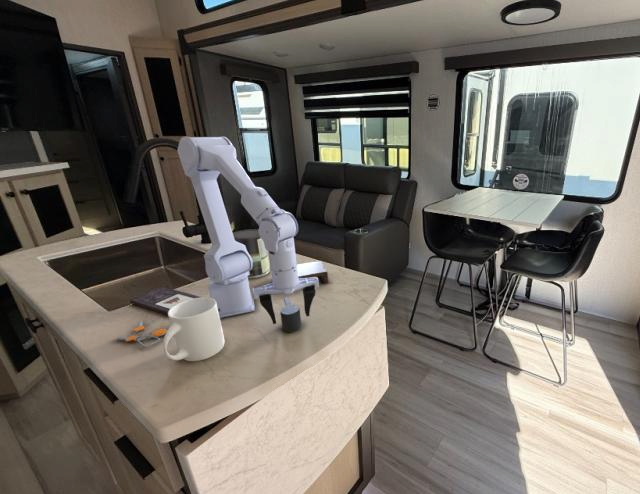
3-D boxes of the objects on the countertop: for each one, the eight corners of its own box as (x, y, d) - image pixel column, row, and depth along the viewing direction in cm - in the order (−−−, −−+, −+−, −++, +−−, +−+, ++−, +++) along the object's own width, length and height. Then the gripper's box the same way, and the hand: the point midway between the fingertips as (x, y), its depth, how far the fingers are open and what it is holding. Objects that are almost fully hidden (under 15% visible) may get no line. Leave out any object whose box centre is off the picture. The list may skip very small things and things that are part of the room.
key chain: (176, 333, 75) (175, 330, 75) (141, 351, 69) (140, 348, 69) (144, 321, 80) (143, 318, 80) (109, 336, 74) (108, 333, 74)
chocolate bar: (163, 286, 96) (203, 297, 90) (163, 289, 97) (204, 300, 90) (129, 299, 89) (171, 313, 82) (130, 302, 89) (172, 316, 82)
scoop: (302, 329, 77) (300, 311, 75) (283, 334, 75) (281, 316, 74) (296, 311, 85) (294, 294, 83) (279, 315, 83) (277, 298, 82)
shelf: (275, 292, 95) (273, 280, 94) (272, 280, 104) (270, 268, 102) (328, 282, 102) (327, 271, 100) (321, 271, 110) (320, 260, 109)
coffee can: (249, 281, 102) (241, 240, 98) (231, 274, 108) (223, 234, 103) (276, 271, 110) (271, 232, 105) (259, 264, 116) (253, 227, 111)
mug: (154, 369, 64) (139, 323, 60) (204, 335, 75) (194, 295, 71) (188, 377, 62) (174, 331, 58) (234, 341, 73) (225, 300, 69)
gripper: (249, 279, 66) (259, 334, 71) (319, 267, 72) (324, 319, 77) (248, 267, 72) (258, 319, 77) (313, 257, 78) (318, 305, 83)
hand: (291, 318), depth 77 cm, fingers open, 7 cm apart
